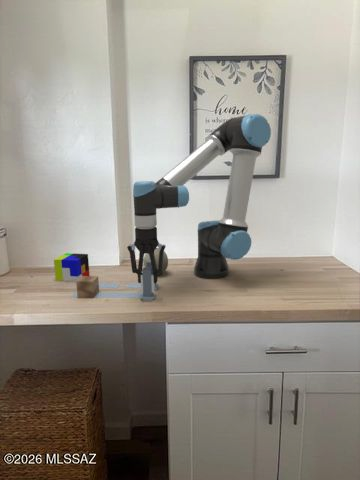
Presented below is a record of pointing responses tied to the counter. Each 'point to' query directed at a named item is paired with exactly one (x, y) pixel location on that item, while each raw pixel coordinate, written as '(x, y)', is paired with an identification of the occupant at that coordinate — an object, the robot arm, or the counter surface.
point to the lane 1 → (144, 296)
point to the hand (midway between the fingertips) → (148, 291)
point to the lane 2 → (140, 284)
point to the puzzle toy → (71, 267)
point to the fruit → (157, 259)
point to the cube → (87, 286)
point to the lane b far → (109, 285)
